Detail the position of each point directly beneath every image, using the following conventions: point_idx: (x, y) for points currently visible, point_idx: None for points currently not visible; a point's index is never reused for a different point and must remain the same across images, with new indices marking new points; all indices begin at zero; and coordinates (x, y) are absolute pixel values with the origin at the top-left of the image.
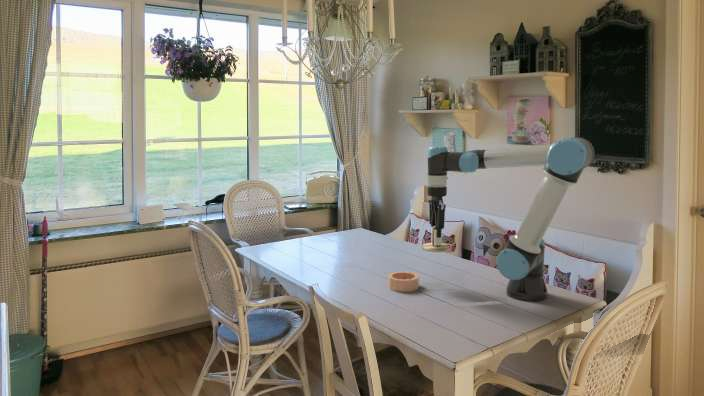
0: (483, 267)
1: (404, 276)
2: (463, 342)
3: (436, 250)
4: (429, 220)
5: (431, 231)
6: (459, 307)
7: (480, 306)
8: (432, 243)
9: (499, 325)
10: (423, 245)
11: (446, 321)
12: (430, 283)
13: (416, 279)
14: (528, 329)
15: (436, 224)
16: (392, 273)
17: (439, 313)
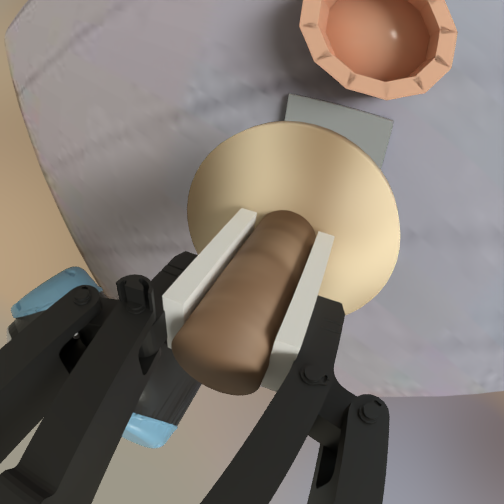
0: (417, 392)
1: (428, 61)
2: (29, 62)
3: (198, 176)
4: (387, 445)
5: (312, 307)
6: (150, 126)
7: (146, 182)
8: (370, 263)
9: (64, 156)
10: (350, 158)
11: (88, 57)
12: (370, 156)
13: (312, 55)
14: (54, 191)
15: (97, 333)
16: (440, 4)
17: (127, 55)
